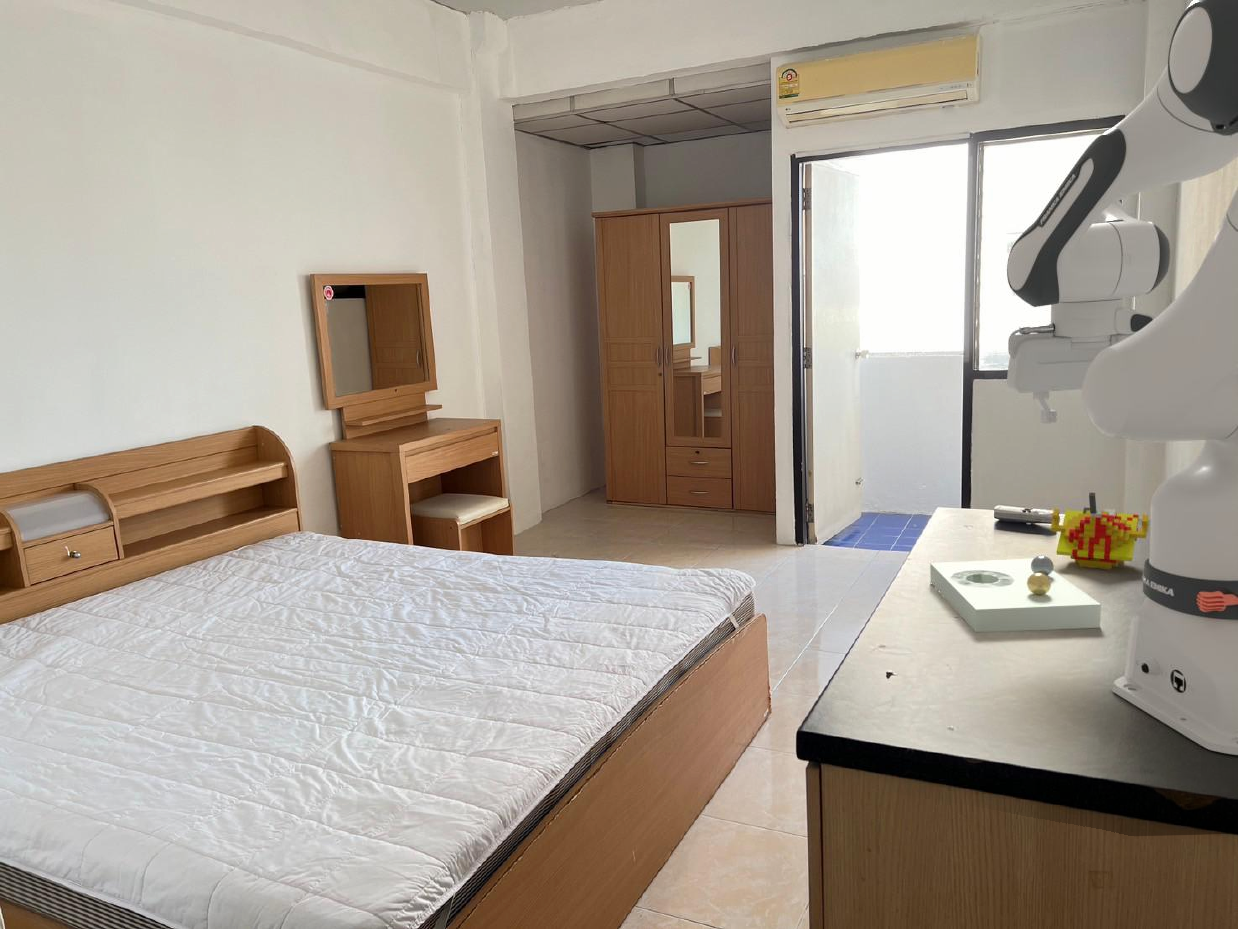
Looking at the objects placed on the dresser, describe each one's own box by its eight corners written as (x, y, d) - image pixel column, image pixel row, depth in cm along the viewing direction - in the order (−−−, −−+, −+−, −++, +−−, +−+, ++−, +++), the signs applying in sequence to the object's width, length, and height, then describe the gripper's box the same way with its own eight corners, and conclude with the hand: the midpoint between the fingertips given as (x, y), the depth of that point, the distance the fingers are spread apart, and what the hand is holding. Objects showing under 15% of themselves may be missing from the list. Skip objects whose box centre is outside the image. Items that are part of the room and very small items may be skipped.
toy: (1150, 546, 147) (1148, 476, 139) (1143, 589, 141) (1141, 519, 133) (1059, 538, 155) (1052, 471, 147) (1049, 579, 149) (1041, 512, 141)
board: (1100, 627, 119) (1100, 604, 119) (975, 632, 121) (976, 609, 120) (1035, 578, 141) (1035, 558, 140) (930, 582, 142) (930, 563, 142)
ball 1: (1056, 578, 130) (1057, 558, 130) (1035, 579, 130) (1035, 559, 130) (1048, 572, 133) (1048, 552, 133) (1027, 573, 133) (1027, 553, 133)
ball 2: (1054, 597, 123) (1054, 576, 122) (1031, 598, 123) (1031, 577, 122) (1045, 590, 126) (1045, 569, 125) (1023, 591, 126) (1023, 570, 125)
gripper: (1017, 327, 123) (1015, 428, 125) (1174, 317, 121) (1169, 419, 124) (1000, 325, 129) (999, 421, 131) (1149, 316, 127) (1145, 413, 130)
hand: (1083, 420), depth 128 cm, fingers open, 8 cm apart
